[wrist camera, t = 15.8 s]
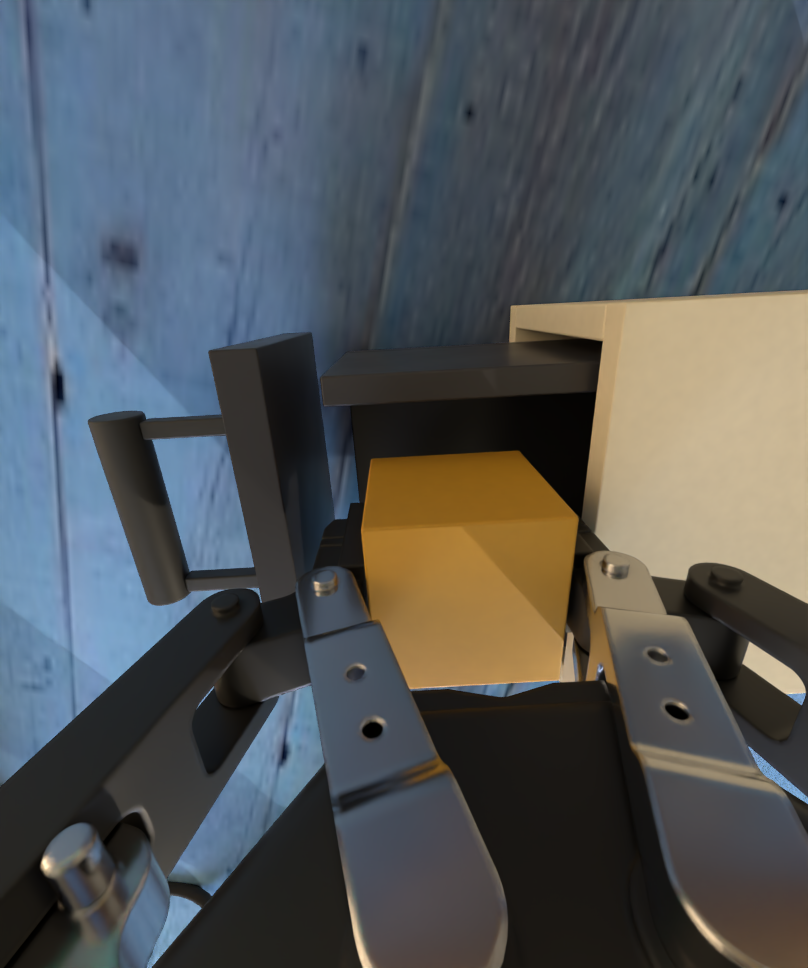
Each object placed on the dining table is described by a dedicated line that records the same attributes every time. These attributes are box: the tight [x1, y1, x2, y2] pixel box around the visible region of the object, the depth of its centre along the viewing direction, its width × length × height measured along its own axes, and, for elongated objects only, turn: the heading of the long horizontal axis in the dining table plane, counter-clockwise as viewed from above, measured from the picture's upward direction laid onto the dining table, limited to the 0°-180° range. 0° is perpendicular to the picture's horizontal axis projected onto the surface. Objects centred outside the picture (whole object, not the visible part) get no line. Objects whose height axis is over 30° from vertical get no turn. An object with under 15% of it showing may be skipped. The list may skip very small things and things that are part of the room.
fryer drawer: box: [88, 332, 603, 686], centre depth 16 cm, size 20×11×8 cm, turn 93°
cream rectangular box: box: [509, 290, 808, 694], centre depth 16 cm, size 16×12×10 cm
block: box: [361, 451, 579, 689], centre depth 11 cm, size 4×4×4 cm
